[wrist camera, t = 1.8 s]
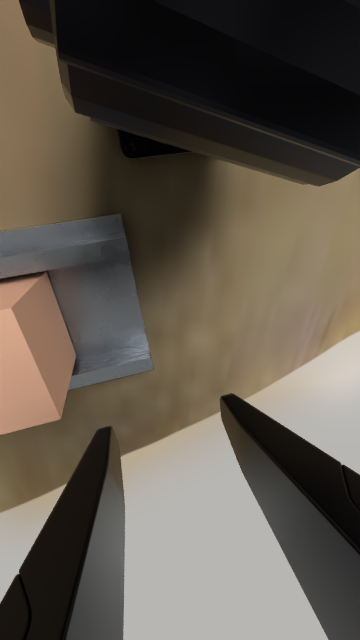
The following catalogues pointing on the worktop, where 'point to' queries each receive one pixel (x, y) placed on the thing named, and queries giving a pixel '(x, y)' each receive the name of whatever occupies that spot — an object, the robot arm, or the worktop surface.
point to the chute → (86, 291)
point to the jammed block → (32, 353)
